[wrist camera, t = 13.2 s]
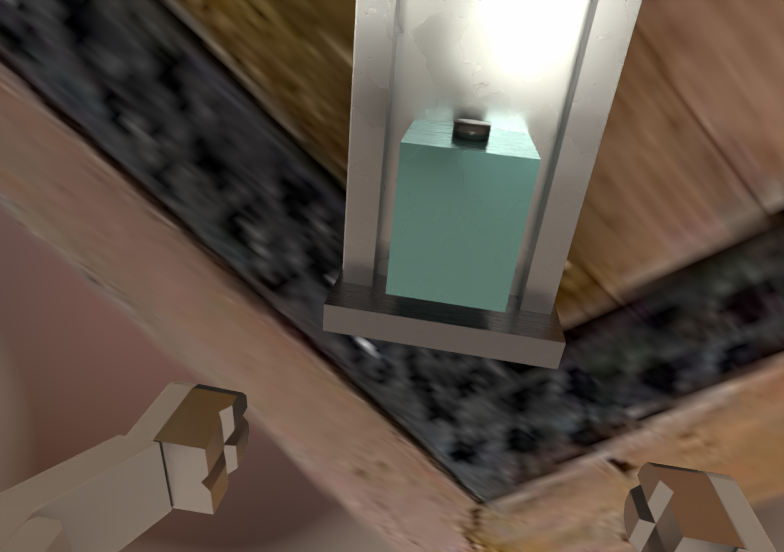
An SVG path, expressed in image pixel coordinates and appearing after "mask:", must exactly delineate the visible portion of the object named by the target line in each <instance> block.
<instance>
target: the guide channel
mask: <svg viewBox="0 0 784 552" xmlns="http://www.w3.org/2000/svg"><path fill="white" fill-rule="evenodd" d="M641 1H642V0H356V13H355V33H354V53H353V73H352V93H351V113H350V133H349V153H348V173H347V193H346V213H345V233H344V253H343V269H342V271H341V273H340V275H339V277H338V279H337V281H336V282H335V284H334V286H333V288H332V290H331V292H330V294H329V296H328V297H327V299H326V301H325V303H324V315H323V331H329V332H335V333H341V334H347V335H353V336H359V337H366V338H372V339H378V340H384V341H390V342H396V343H402V344H408V345H414V346H420V347H426V348H432V349H438V350H444V351H450V352H456V353H462V354H468V355H474V356H480V357H486V358H492V359H498V360H504V361H510V362H516V363H522V364H528V365H534V366H541V367H547V368H553V369H558V366H559V363H560V360H561V357H562V353H563V350H564V347H565V344H566V342H565V339H564V335H563V331H562V328H561V324H560V321H559V317H558V313H557V310H556V306H555V302H554V301H555V297H556V294H557V290H558V287H559V284H560V280H561V277H562V273H563V270H564V266H565V263H566V260H567V256H568V253H569V249H570V246H571V242H572V239H573V235H574V232H575V229H576V225H577V222H578V218H579V215H580V211H581V208H582V204H583V201H584V198H585V194H586V191H587V187H588V184H589V180H590V177H591V173H592V170H593V167H594V163H595V160H596V156H597V153H598V149H599V146H600V143H601V139H602V136H603V132H604V129H605V125H606V122H607V118H608V115H609V112H610V108H611V105H612V101H613V98H614V94H615V91H616V87H617V84H618V81H619V77H620V74H621V70H622V67H623V63H624V60H625V57H626V53H627V50H628V46H629V43H630V39H631V36H632V32H633V29H634V26H635V22H636V19H637V15H638V12H639V8H640V5H641ZM414 119H415V120H423V121H431V122H440V123H448V124H454V120H457V119H469V120H477V121H482V122H486V123H489V124H491V129H497V130H505V131H513V132H521V133H529V135H530V137H531V139H532V142H533V144H534V146H535V148H536V150H537V152H538V155H539V157H540V159H541V161H540V166H539V170H538V174H537V178H536V183H535V187H534V191H533V195H532V200H531V204H530V208H529V212H528V216H527V221H526V225H525V229H524V233H523V238H522V242H521V246H520V250H519V255H518V259H517V263H516V267H515V272H514V276H513V280H512V284H511V288H510V293H509V297H508V301H507V305H506V310H505V312H499V311H493V310H487V309H480V308H474V307H467V306H461V305H455V304H448V303H442V302H435V301H429V300H422V299H416V298H410V297H403V296H397V295H390V294H386V284H387V274H388V264H389V253H390V243H391V233H392V223H393V213H394V202H395V192H396V182H397V172H398V161H399V151H400V142H401V140H402V138H403V137H404V135H405V134H406V132H407V130H408V129H409V127H410V126H411V124H412V122H413V121H414Z"/></svg>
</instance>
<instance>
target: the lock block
mask: <svg viewBox="0 0 784 552" xmlns="http://www.w3.org/2000/svg"><path fill="white" fill-rule="evenodd" d="M540 161H541V159H540V157H539V155H538V152H537V150H536V148H535V146H534V144H533V142H532V139H531V137H530V135H529V133H521V132H513V131H505V130H497V129H491V124H489V123H486V122H482V121H477V120H469V119H457V120H454V124H448V123H440V122H431V121H423V120H415V119H414V121H413V122H412V124H411V126H410V127H409V129H408V130H407V132H406V134H405V135H404V137H403V138H402V140H401V142H400V151H399V161H398V172H397V182H396V192H395V202H394V213H393V223H392V233H391V243H390V253H389V264H388V274H387V284H386V294H390V295H397V296H403V297H410V298H416V299H422V300H429V301H435V302H442V303H448V304H455V305H461V306H467V307H474V308H480V309H487V310H493V311H499V312H505V310H506V305H507V301H508V297H509V293H510V288H511V284H512V280H513V276H514V272H515V267H516V263H517V259H518V255H519V250H520V246H521V242H522V238H523V233H524V229H525V225H526V221H527V216H528V212H529V208H530V204H531V200H532V195H533V191H534V187H535V183H536V178H537V174H538V170H539V166H540Z"/></svg>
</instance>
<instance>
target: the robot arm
mask: <svg viewBox="0 0 784 552" xmlns="http://www.w3.org/2000/svg"><path fill="white" fill-rule="evenodd" d="M246 408H247V399H246V395H245V394H244V393H241V392H236V391H231V390H226V389H221V388H216V387H211V386H206V385H201V384H193V383H188V382H183V381H179V380H175V381H174V382H171V383H170V384H168V386H167V387H166V388H165V389H164V391H162V393H161V394H160V395H159V396H158V398H157V399H156V400H155V401H154V402H153V404H152V405H151V406H150V407H149V409H148V410H147V411H146V412H145V413H144V415H143V416H142V417H141V418H140V419H139V421H138V422H137V423H136V424H135V425H134V427H133V428H132V429H131V430H130V431H129V433H128V434H127V435H126V436H121V435H118V436H116V437H114V438H112V439H110V440H107V441H105V442H104V443H102V444H99V445H97V446H95V447H93V448H91V449H89V450H87V451H85V452H83V453H81V454H79V455H77V456H75V457H73V458H71V459H69V460H67V461H65V462H63V463H61V464H59V465H57V466H55V467H53V468H50V469H48V470H47V471H44V472H43V473H40V474H38V475H37V476H34V477H32V478H30V479H28V480H26V481H24V482H22V483H20V484H18V485H16V486H14V487H12V488H10V489H8V490H6V491H4V492H2V493H0V552H118V551H120V550H121V549H122V548H123V547H125V546H126V545H127V544H129V543H130V542H131V541H133V540H134V539H135V538H136V537H138V536H139V535H140V534H142V533H143V532H144V531H146V530H147V529H148V528H149V527H151V526H152V525H153V524H155V523H156V522H157V521H158V520H160V519H161V518H162V517H164V516H165V515H166V514H167V513H169V512H170V511H171V510H172V508H177V509H183V510H190V511H196V512H202V513H208V514H214V512H215V510H216V508H217V507H218V505H219V503H220V501H221V499H222V497H223V495H224V493H225V491H226V489H227V487H228V477H227V474H228V473H230V472H232V471H233V470H235V469H236V468H238V466H239V464H240V462H241V460H242V458H243V456H244V452H245V449H246V445H247V442H248V434H249V425H248V422H247V420H246V419H245V418H244V417H243V414H244V412H245V410H246ZM638 478H639V481H640V484H641V485H639V486H637V487H635V488H633V489H631V490H630V491H629V494H628V496H627V498H626V501H625V507H624V523H625V529H626V533H627V536H628V540H629V541H630V542H631V543H632V544H633V545H634V547H635V548H636V549H637V550H638V551H639V552H776V550H775V548H774V547H773V545H772V543H771V541H770V540H769V538H768V536H767V534H766V533H765V531H764V530H763V528H762V526H761V524H760V522H759V521H758V519H757V517H756V516H755V514H754V512H753V510H752V508H751V507H750V505H749V503H748V502H747V500H746V498H745V496H744V495H743V493H742V491H741V489H740V488H739V486H738V484H737V482H736V481H735V480H734V479H733V478H732V477H730V476H729V475H724V474H718V473H712V472H705V471H698V470H693V469H687V468H680V467H674V466H668V465H662V464H656V463H650V462H647V463H645V464H644V465H643V466H642V467H641V469H640V471H639V473H638Z"/></svg>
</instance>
